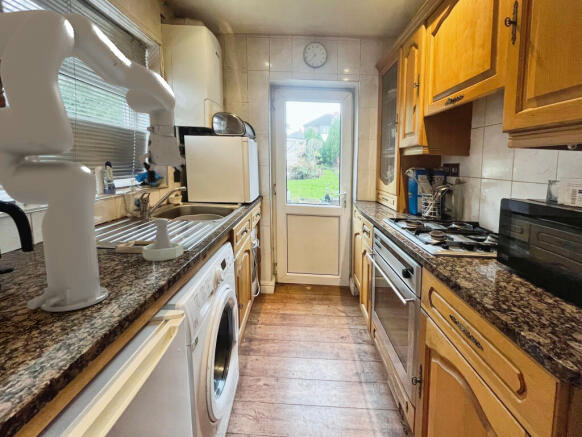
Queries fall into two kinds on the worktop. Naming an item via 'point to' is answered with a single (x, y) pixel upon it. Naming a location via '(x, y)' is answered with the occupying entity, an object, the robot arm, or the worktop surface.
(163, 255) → the holder ring
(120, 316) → the worktop surface
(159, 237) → the salt shaker
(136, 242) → the tray
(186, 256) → the worktop surface
